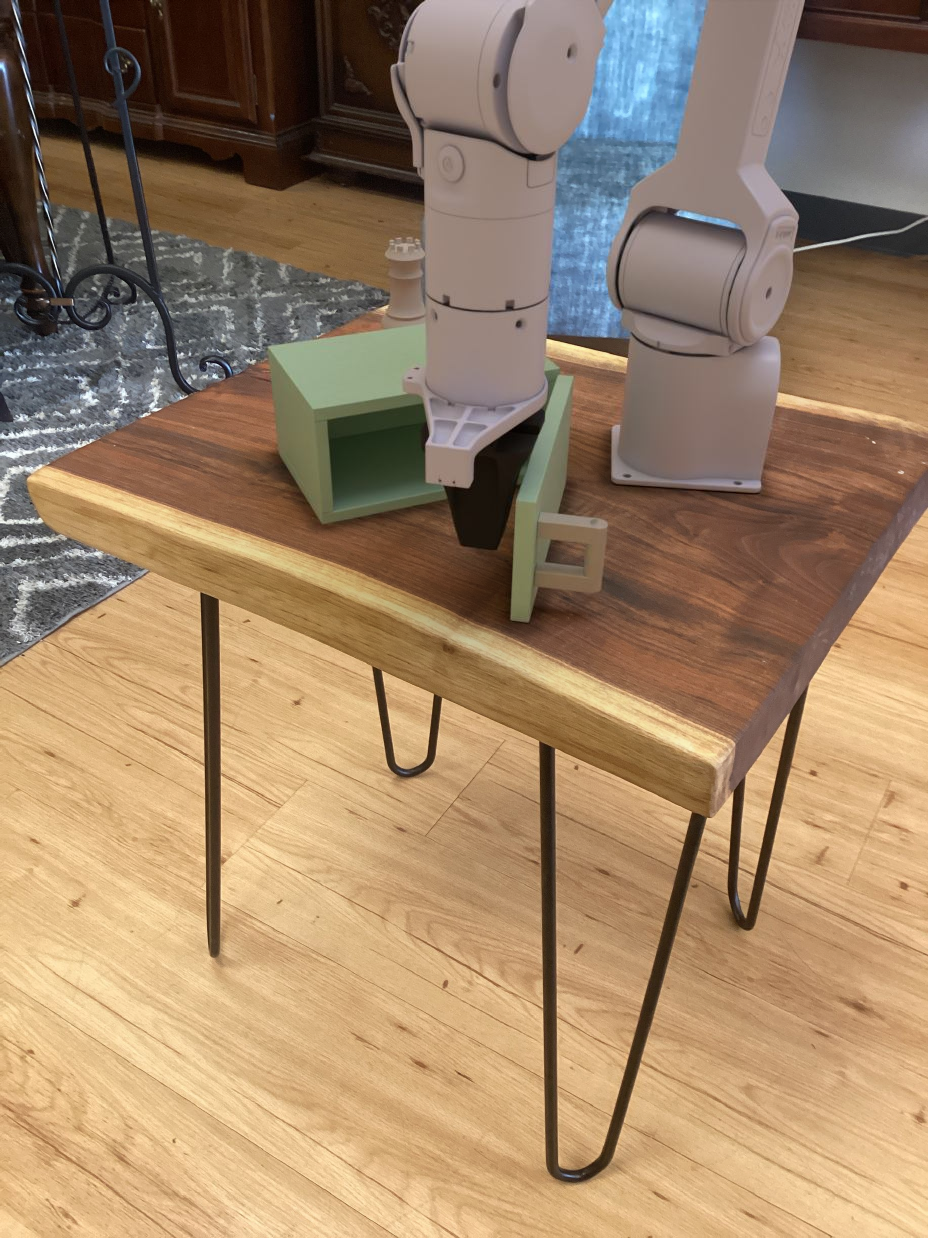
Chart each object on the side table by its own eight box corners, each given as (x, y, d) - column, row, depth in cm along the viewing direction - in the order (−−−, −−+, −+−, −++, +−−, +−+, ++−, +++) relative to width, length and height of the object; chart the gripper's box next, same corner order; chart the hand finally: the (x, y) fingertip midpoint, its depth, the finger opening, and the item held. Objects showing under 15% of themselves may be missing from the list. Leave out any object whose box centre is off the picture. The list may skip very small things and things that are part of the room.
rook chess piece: (370, 343, 86) (365, 244, 81) (397, 326, 89) (395, 230, 85) (417, 353, 84) (415, 253, 80) (443, 335, 88) (443, 238, 83)
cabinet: (552, 478, 68) (560, 367, 63) (322, 525, 63) (312, 409, 58) (489, 416, 75) (492, 313, 71) (278, 454, 70) (267, 345, 66)
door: (620, 488, 66) (632, 380, 62) (595, 632, 54) (608, 510, 50) (550, 480, 67) (557, 374, 63) (510, 620, 55) (515, 499, 51)
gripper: (443, 238, 54) (443, 471, 62) (353, 338, 43) (367, 607, 51) (577, 250, 53) (559, 486, 61) (521, 356, 42) (508, 629, 50)
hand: (480, 542), depth 56 cm, fingers closed, pressing on door
